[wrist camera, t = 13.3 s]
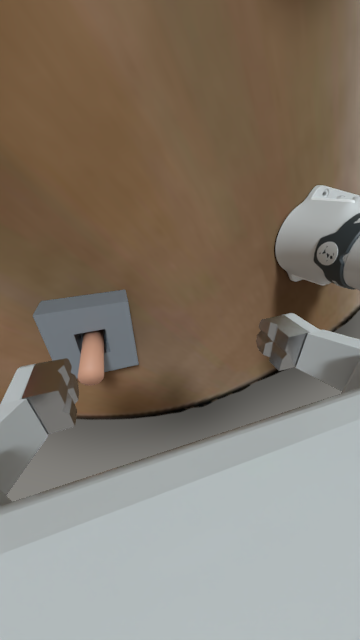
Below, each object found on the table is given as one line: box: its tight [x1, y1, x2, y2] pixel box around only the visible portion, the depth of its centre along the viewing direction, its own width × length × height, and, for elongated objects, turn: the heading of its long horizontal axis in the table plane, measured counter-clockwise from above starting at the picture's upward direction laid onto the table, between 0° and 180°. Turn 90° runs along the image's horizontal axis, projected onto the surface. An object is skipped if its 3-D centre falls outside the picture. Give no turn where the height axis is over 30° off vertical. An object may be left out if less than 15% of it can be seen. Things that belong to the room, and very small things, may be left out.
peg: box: [78, 329, 104, 385], centre depth 36 cm, size 4×4×12 cm
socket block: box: [33, 290, 139, 378], centre depth 39 cm, size 14×14×5 cm
